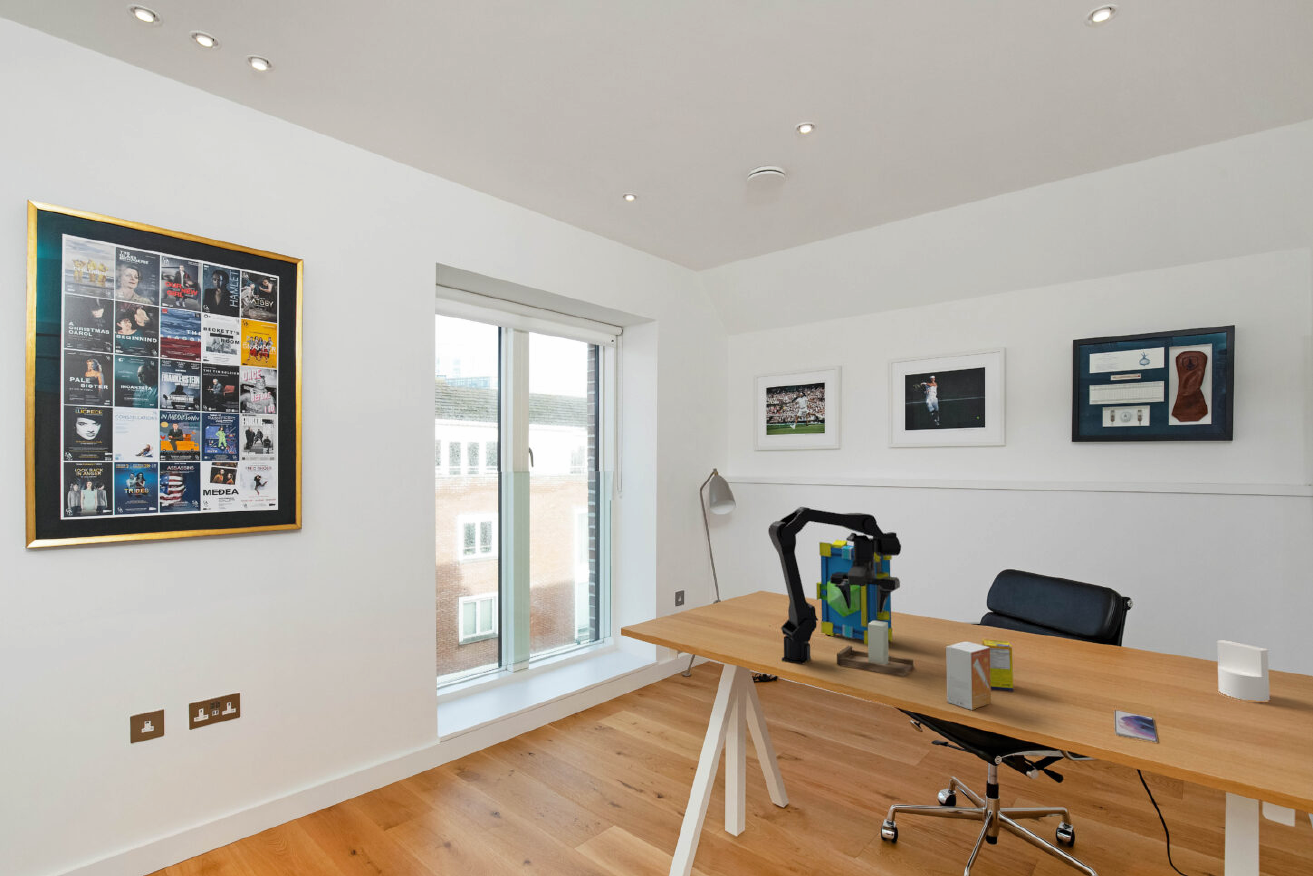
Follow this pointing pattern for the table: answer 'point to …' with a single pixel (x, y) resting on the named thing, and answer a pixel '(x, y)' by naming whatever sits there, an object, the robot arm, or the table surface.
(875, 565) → the blue toy crate
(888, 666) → the wooden tray
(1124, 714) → the smartphone
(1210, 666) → the table surface
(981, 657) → the small box
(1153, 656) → the table surface
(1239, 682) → the base with upright slab
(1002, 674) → the supplement box
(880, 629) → the pale green recessed block
